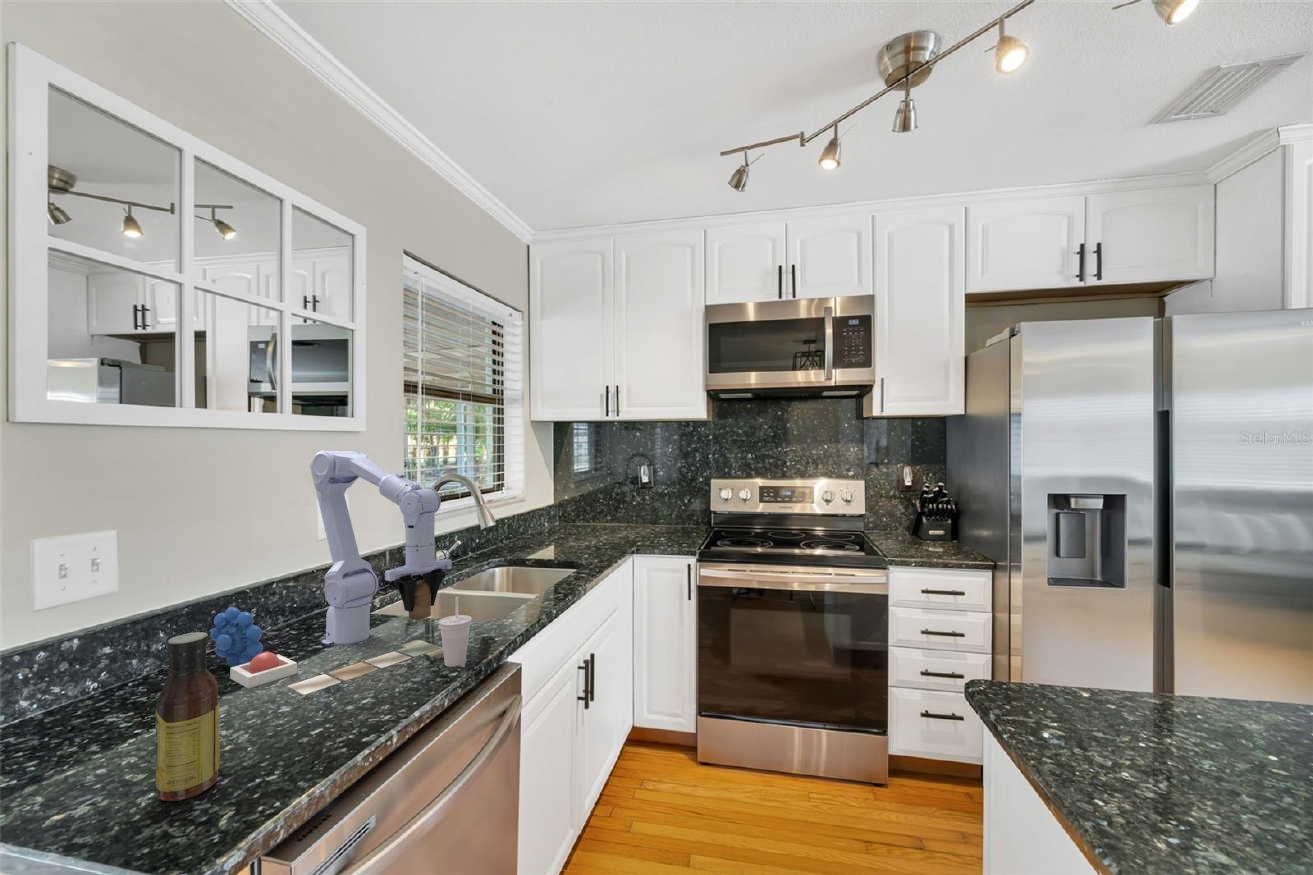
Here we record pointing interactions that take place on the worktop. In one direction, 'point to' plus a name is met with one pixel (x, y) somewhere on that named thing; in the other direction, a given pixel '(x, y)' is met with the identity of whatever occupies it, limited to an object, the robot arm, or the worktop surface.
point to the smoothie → (455, 638)
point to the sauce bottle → (187, 722)
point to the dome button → (263, 662)
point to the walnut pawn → (421, 601)
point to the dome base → (263, 673)
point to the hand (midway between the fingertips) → (419, 607)
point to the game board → (368, 666)
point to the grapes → (236, 637)
